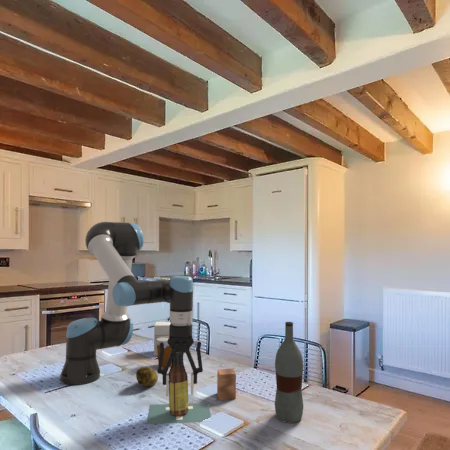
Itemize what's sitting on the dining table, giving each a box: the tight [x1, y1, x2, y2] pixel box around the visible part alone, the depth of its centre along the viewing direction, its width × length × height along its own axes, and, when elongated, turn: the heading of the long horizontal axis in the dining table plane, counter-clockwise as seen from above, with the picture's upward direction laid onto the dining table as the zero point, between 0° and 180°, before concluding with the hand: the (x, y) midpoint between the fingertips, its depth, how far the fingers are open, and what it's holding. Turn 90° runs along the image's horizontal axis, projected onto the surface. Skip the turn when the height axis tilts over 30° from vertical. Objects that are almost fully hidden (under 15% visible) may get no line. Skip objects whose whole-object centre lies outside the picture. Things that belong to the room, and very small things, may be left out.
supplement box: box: [153, 321, 171, 357], centre depth 190 cm, size 9×9×15 cm
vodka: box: [274, 321, 304, 423], centre depth 121 cm, size 9×9×30 cm
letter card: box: [146, 402, 212, 425], centre depth 122 cm, size 20×14×1 cm
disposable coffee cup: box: [156, 337, 172, 369], centre depth 170 cm, size 10×10×12 cm
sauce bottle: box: [168, 352, 189, 416], centre depth 123 cm, size 7×6×20 cm
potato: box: [135, 365, 159, 387], centre depth 146 cm, size 8×13×8 cm, turn 155°
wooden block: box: [216, 368, 237, 401], centre depth 136 cm, size 6×6×9 cm
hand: (179, 394), depth 123 cm, fingers open, 7 cm apart
